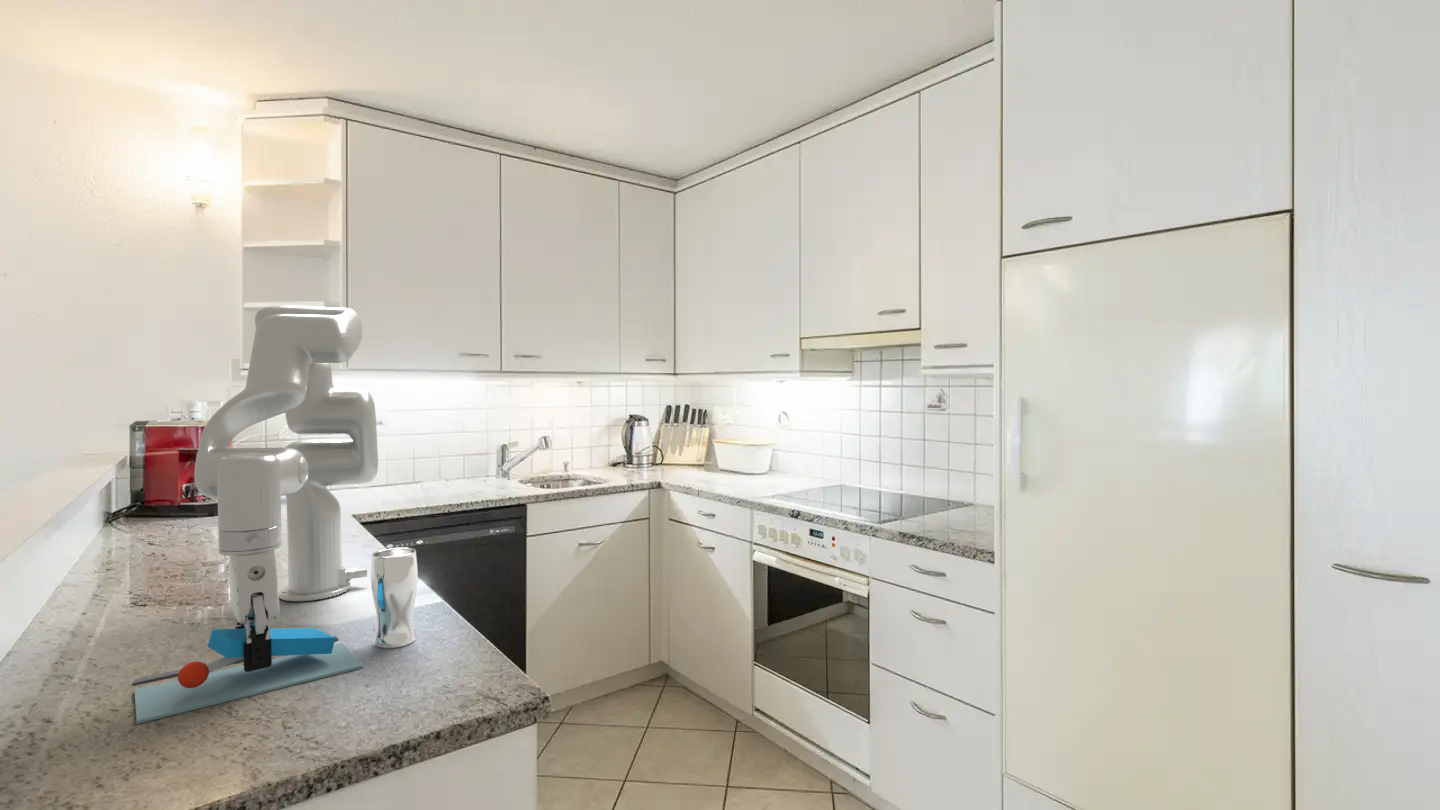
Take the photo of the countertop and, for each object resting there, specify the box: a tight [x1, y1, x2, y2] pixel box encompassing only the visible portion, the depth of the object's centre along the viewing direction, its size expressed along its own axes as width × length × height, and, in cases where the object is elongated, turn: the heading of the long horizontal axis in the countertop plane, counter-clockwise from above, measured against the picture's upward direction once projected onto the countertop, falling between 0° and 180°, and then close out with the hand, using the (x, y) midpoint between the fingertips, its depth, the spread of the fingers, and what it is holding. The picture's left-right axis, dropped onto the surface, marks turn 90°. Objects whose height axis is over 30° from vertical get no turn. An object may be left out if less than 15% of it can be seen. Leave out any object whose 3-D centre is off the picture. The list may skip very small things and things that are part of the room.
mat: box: [134, 643, 364, 725], centre depth 100 cm, size 26×12×1 cm, turn 131°
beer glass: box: [370, 547, 419, 649], centre depth 114 cm, size 7×7×15 cm
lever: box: [177, 627, 337, 688], centre depth 100 cm, size 7×7×18 cm
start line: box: [133, 635, 339, 686], centre depth 107 cm, size 26×2×1 cm, turn 131°
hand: (253, 659), depth 100 cm, fingers closed on lever, 7 cm apart
